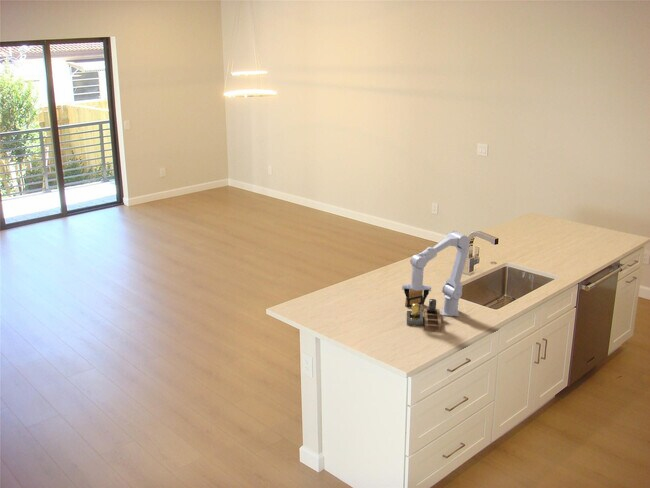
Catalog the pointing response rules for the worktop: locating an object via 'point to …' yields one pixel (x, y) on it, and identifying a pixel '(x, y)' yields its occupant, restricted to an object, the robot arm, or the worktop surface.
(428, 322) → the walnut rack
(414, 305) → the brass round bar
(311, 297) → the worktop surface
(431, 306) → the black round bar
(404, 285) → the robot arm
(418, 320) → the steel socket
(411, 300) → the ammunition clip
